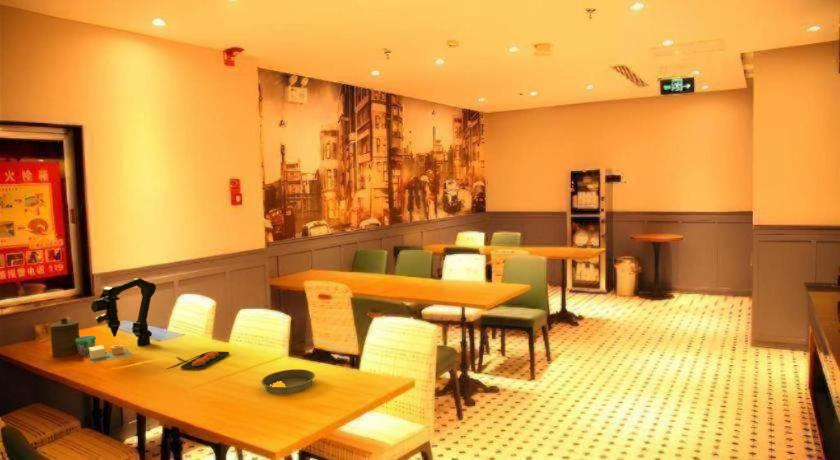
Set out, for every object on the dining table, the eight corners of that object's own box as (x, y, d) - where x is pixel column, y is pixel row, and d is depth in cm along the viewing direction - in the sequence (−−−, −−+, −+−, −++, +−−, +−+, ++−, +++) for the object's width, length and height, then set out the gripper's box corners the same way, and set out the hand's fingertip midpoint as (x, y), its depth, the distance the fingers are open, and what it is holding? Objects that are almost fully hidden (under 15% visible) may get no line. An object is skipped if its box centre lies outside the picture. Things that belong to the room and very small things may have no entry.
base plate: (127, 350, 350) (126, 345, 349) (133, 357, 335) (132, 351, 335) (87, 358, 337) (86, 352, 337) (91, 365, 323) (91, 359, 322)
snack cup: (74, 353, 348) (72, 337, 347) (94, 350, 354) (92, 333, 353) (79, 359, 336) (77, 342, 335) (99, 355, 342) (98, 338, 341)
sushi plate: (203, 371, 304) (202, 364, 304) (152, 370, 310) (151, 363, 310) (231, 354, 332) (231, 348, 332) (184, 353, 339) (184, 347, 338)
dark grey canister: (86, 349, 357) (83, 313, 355) (69, 356, 343) (66, 319, 341) (64, 349, 359) (60, 314, 357) (46, 356, 344) (42, 320, 342)
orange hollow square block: (121, 350, 345) (121, 344, 344) (123, 352, 340) (123, 346, 340) (111, 352, 342) (111, 346, 341) (113, 354, 337) (112, 348, 337)
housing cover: (102, 353, 341) (102, 345, 340) (105, 357, 333) (104, 348, 333) (89, 356, 337) (88, 347, 336) (91, 359, 329) (90, 351, 328)
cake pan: (252, 388, 275) (251, 379, 274) (297, 374, 292) (296, 365, 292) (279, 400, 257) (279, 391, 257) (325, 385, 274) (325, 376, 274)
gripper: (94, 308, 342) (96, 334, 343) (96, 313, 326) (99, 340, 327) (115, 305, 348) (118, 331, 349) (119, 310, 332) (121, 337, 333)
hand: (113, 334), depth 339 cm, fingers open, 9 cm apart
